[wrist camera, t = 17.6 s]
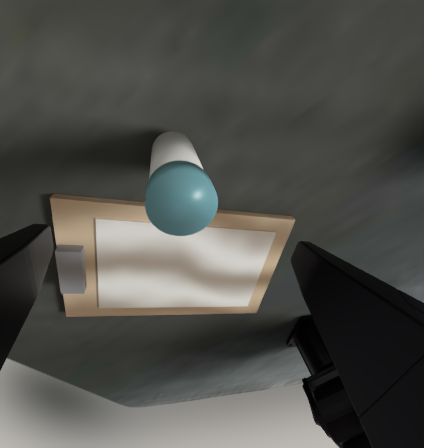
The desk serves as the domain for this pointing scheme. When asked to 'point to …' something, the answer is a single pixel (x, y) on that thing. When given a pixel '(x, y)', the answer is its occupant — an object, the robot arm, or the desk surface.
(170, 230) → the marker
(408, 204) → the desk surface
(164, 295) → the clipboard
